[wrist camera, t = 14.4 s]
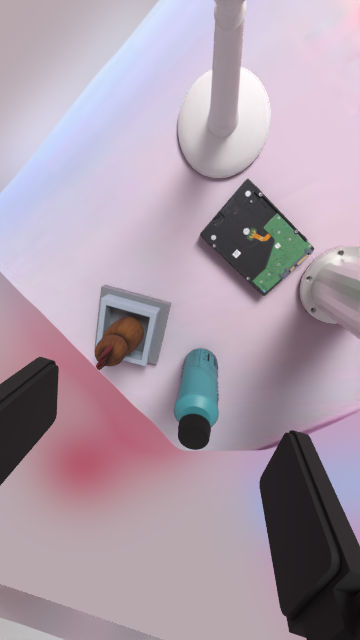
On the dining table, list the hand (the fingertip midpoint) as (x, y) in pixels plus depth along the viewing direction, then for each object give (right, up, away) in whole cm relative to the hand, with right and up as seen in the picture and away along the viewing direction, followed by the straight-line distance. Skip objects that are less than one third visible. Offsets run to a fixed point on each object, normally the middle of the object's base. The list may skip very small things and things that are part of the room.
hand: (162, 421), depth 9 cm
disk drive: (+13, +17, +29) cm, 36 cm away
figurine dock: (-9, +3, +37) cm, 38 cm away
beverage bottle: (+5, -3, +38) cm, 38 cm away
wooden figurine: (-9, +3, +36) cm, 37 cm away
